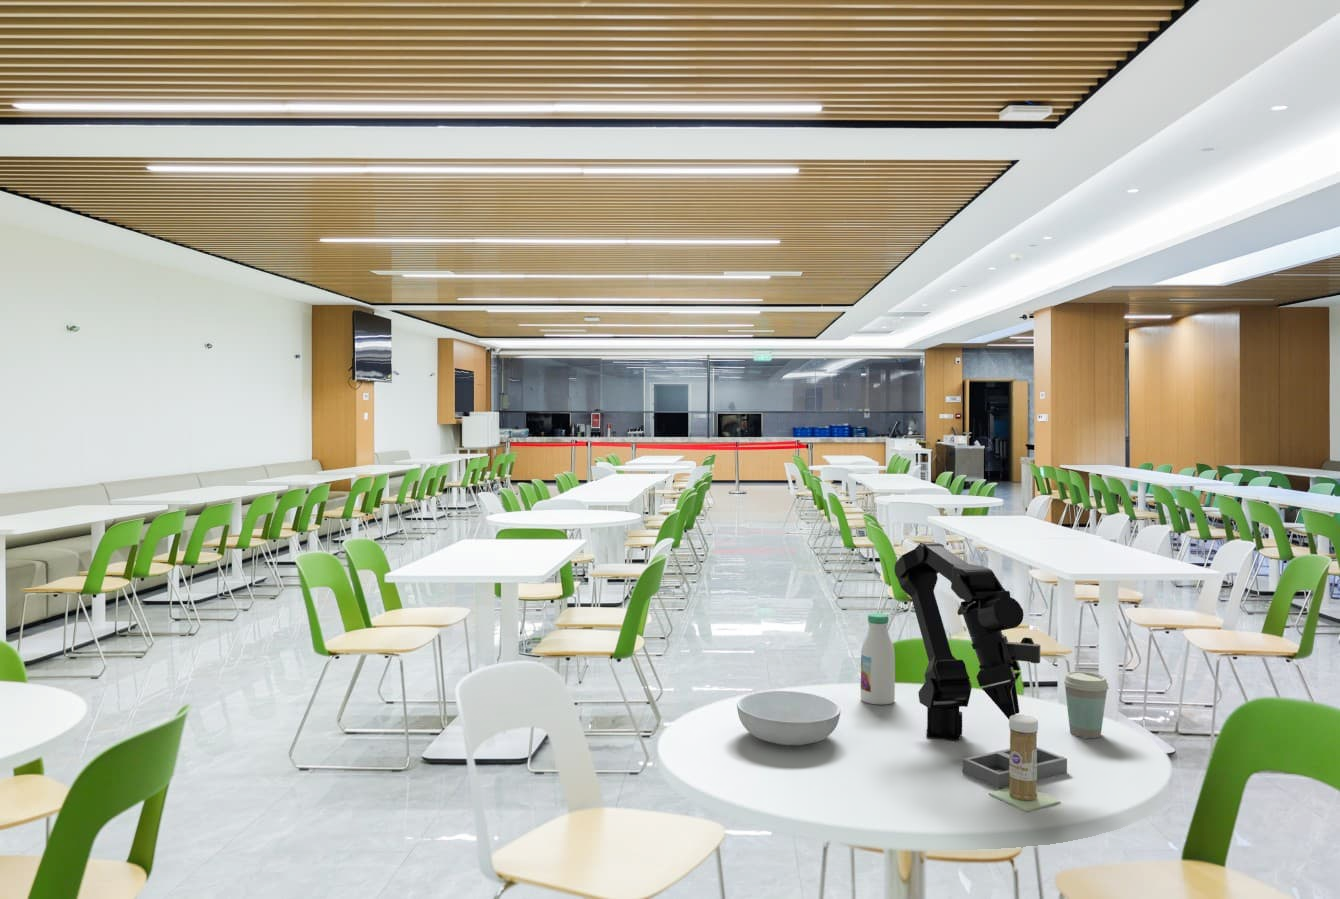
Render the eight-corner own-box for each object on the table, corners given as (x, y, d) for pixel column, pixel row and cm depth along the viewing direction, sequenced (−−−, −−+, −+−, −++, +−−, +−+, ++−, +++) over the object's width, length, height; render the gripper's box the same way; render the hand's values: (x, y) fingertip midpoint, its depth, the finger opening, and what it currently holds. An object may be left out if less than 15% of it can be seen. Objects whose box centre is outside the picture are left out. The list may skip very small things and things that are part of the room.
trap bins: (1029, 757, 174) (1029, 744, 174) (1066, 772, 166) (1067, 758, 166) (962, 772, 166) (962, 758, 166) (998, 788, 158) (999, 774, 158)
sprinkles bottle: (1004, 796, 154) (1004, 717, 154) (1014, 789, 158) (1014, 711, 157) (1032, 803, 151) (1032, 723, 151) (1041, 795, 155) (1041, 717, 154)
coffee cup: (1113, 742, 182) (1113, 682, 182) (1068, 739, 184) (1068, 680, 184) (1101, 728, 191) (1102, 671, 191) (1058, 725, 193) (1059, 669, 192)
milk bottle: (896, 697, 213) (896, 612, 212) (892, 707, 205) (893, 619, 205) (862, 694, 215) (863, 610, 215) (858, 703, 208) (859, 616, 208)
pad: (1022, 786, 160) (1022, 784, 160) (1060, 802, 152) (1060, 801, 152) (989, 794, 156) (989, 792, 156) (1026, 811, 149) (1026, 810, 149)
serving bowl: (793, 765, 170) (793, 728, 170) (715, 736, 185) (715, 703, 185) (861, 740, 183) (861, 706, 183) (783, 715, 199) (783, 684, 199)
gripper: (1025, 625, 160) (1058, 714, 156) (1031, 620, 177) (1060, 700, 173) (963, 641, 164) (993, 728, 160) (975, 635, 181) (1002, 713, 177)
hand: (1015, 717), depth 168 cm, fingers open, 9 cm apart
